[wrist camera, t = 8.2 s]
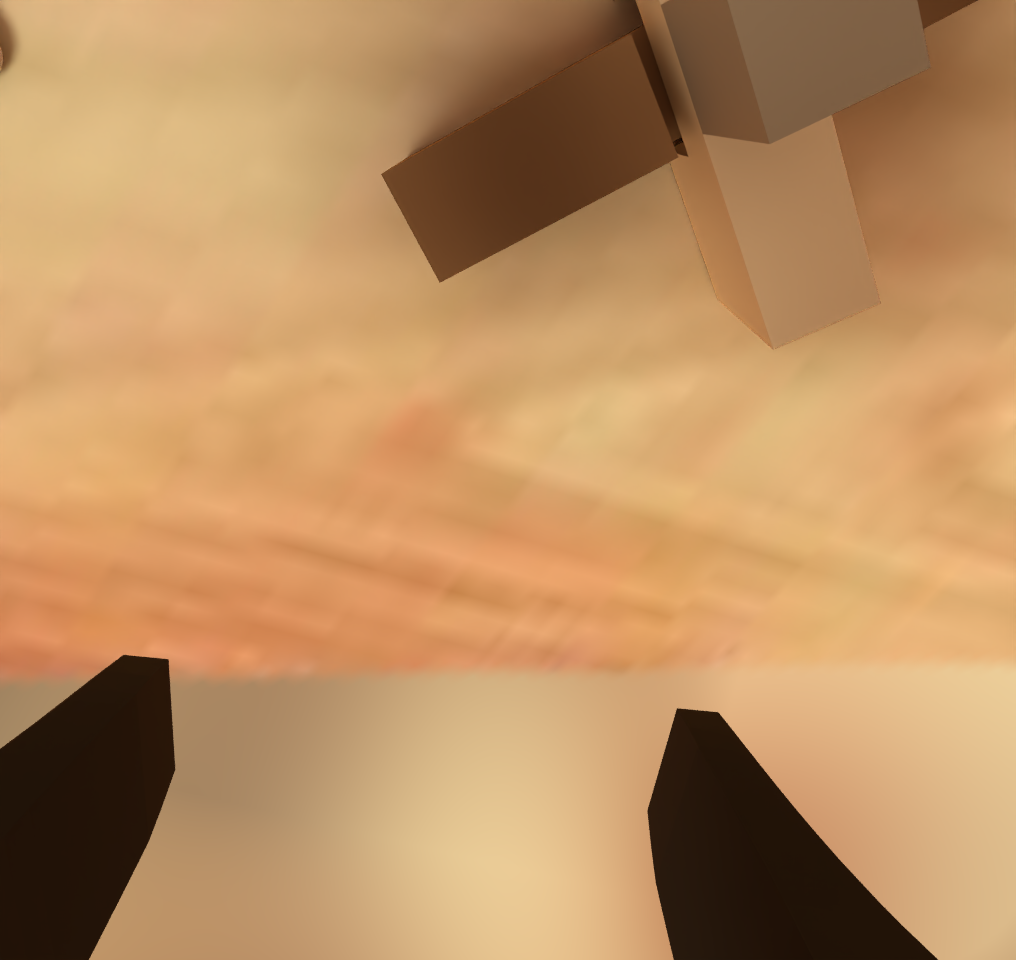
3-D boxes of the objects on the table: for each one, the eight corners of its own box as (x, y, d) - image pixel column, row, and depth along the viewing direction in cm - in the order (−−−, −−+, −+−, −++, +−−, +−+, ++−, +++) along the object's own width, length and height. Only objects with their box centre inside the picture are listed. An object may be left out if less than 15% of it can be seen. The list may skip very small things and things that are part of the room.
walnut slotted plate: (451, 245, 18) (439, 282, 14) (405, 158, 17) (381, 174, 13) (995, -46, 15) (1150, -90, 12) (973, -161, 15) (1130, -248, 11)
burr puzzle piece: (802, 262, 18) (991, 360, 11) (717, 300, 18) (850, 418, 11) (646, -267, 14) (790, -620, 7) (541, -206, 14) (583, -486, 7)
